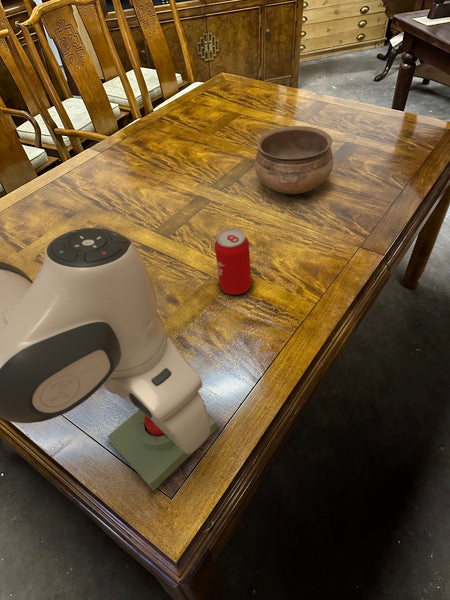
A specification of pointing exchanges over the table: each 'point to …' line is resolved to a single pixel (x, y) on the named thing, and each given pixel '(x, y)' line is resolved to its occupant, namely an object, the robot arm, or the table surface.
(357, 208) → the table surface
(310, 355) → the table surface
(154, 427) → the button
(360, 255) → the table surface
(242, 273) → the beverage can
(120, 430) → the button housing
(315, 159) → the cooking pot
